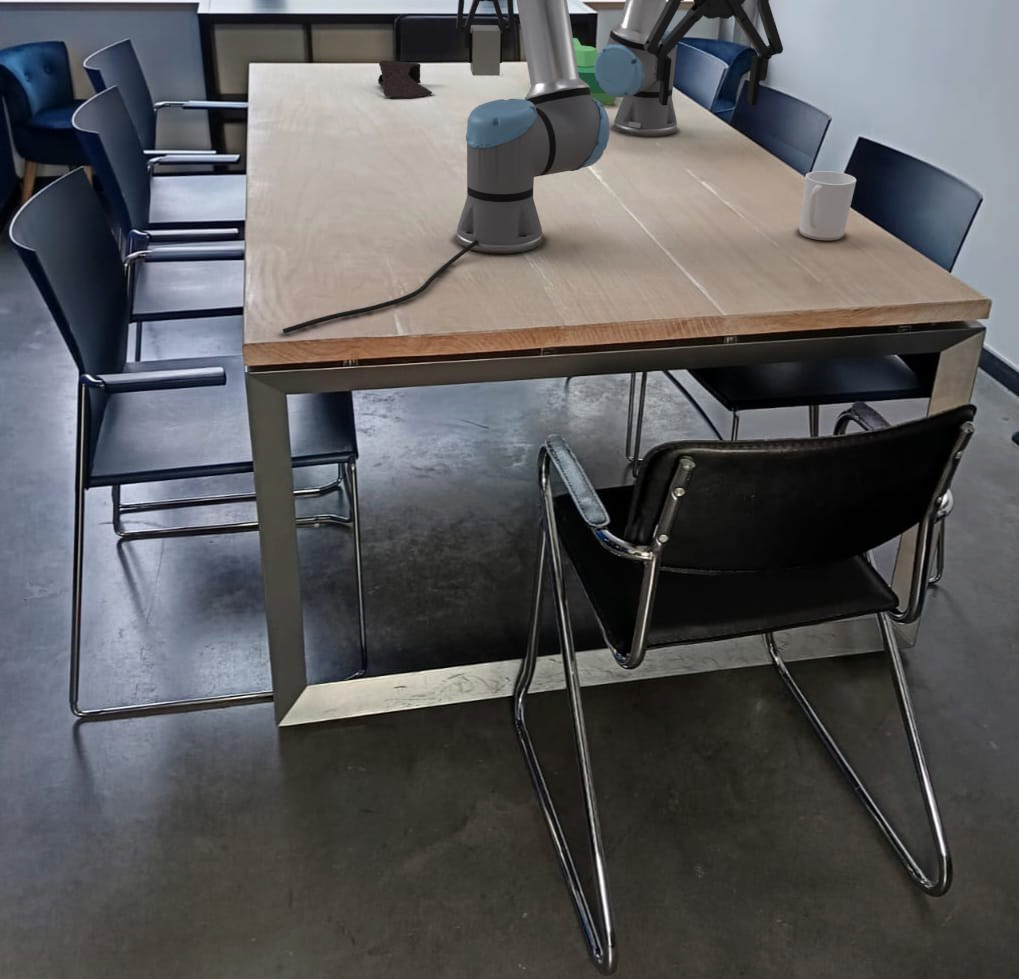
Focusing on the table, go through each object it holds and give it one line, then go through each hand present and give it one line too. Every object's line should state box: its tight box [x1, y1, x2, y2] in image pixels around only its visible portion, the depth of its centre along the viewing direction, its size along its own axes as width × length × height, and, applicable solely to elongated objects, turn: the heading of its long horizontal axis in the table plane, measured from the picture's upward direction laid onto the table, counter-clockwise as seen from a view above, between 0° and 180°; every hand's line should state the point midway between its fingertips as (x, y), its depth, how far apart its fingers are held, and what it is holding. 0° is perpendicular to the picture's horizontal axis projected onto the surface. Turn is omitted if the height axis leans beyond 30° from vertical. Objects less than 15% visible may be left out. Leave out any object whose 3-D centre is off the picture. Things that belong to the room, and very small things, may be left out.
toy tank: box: [573, 37, 616, 105], centre depth 300 cm, size 18×12×35 cm
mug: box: [798, 170, 857, 241], centre depth 199 cm, size 11×9×10 cm
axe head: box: [377, 59, 433, 99], centre depth 299 cm, size 18×8×15 cm
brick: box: [469, 24, 502, 77], centre depth 266 cm, size 8×7×10 cm
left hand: (707, 103), depth 164 cm, fingers open, 13 cm apart
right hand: (485, 61), depth 267 cm, fingers closed on brick, 7 cm apart
